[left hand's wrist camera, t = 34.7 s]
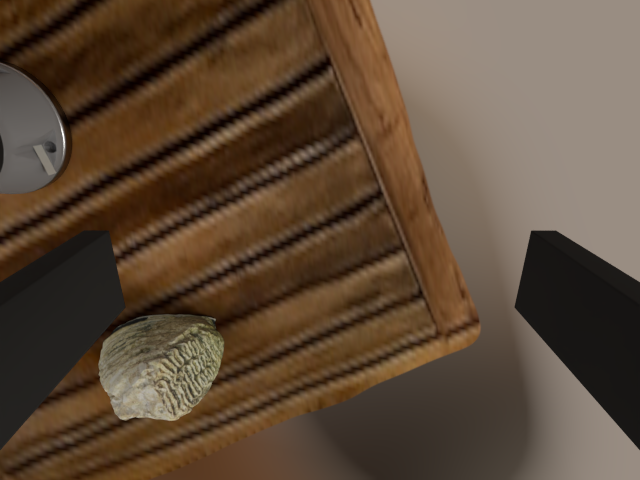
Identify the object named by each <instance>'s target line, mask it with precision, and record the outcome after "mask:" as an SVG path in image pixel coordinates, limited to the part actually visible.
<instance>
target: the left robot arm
mask: <svg viewBox="0 0 640 480" xmlns="http://www.w3.org/2000/svg"><path fill="white" fill-rule="evenodd" d="M71 151H72V137H71V131H70V127H69V123H68V120H67V118H66V115H65V113H64V111H63V109H62V107H61V106H60V104H59V102H58V101H57V99H56V98H55V97H54V95H53V94H52V93H51V92H50V91H49V89H48V88H47V87H46V86H45V85H44V84H43V83H41V82H40V81H39V80H38V79H37V78H35V77H34V76H33V75H31V74H30V73H28V72H27V71H25V70H23V69H21V68H19V67H17V66H15V65H12V64H9V63H6V62H2V61H0V193H4V194H20V193H28V192H32V191H35V190H38V189H41V188H43V187H46V186H48V185H50V184H52V183H53V182H54V181H56V180H57V179H58V178H59V177H60V176H61V175H62V174H63V172H64V171H65V169H66V167H67V165H68V163H69V160H70V156H71ZM124 308H125V303H124V299H123V294H122V289H121V285H120V280H119V276H118V271H117V266H116V262H115V257H114V253H113V248H112V243H111V239H110V234H109V231H83V232H81V233H79V234H78V235H76V236H75V237H73V238H71V239H70V240H68V241H66V242H65V243H63V244H62V245H60V246H58V247H57V248H55V249H54V250H52V251H50V252H49V253H47V254H45V255H44V256H42V257H41V258H39V259H37V260H36V261H34V262H32V263H31V264H29V265H28V266H26V267H24V268H23V269H21V270H19V271H18V272H16V273H15V274H13V275H11V276H10V277H8V278H6V279H5V280H3V281H2V282H0V450H1V449H2V447H3V446H4V445H5V444H6V443H7V442H8V441H9V439H10V438H11V437H12V436H13V435H14V434H15V433H16V431H17V430H18V429H19V428H20V427H21V426H22V425H23V423H24V422H25V421H26V420H27V419H28V418H29V417H30V416H31V414H32V413H33V412H34V411H35V410H36V409H37V408H38V406H39V405H40V404H41V403H42V402H43V401H44V400H45V398H46V397H47V396H48V395H49V394H50V393H51V392H52V390H53V389H54V388H55V387H56V386H57V385H58V384H59V382H60V381H61V380H62V379H63V378H64V377H65V376H66V374H67V373H68V372H69V371H70V370H71V369H72V368H73V366H74V365H75V364H76V363H77V362H78V361H79V360H80V359H81V357H82V356H83V355H84V354H85V353H86V352H87V351H88V349H89V348H90V347H91V346H92V345H93V344H94V343H95V341H96V340H97V339H98V338H99V337H100V336H101V335H102V333H103V332H104V331H105V330H106V329H107V328H108V327H109V325H110V324H111V323H112V322H113V321H114V320H115V319H116V317H117V316H118V315H119V314H120V313H121V312H122V311H123V309H124ZM515 308H516V309H517V311H518V312H519V313H520V314H521V315H522V316H523V317H524V319H525V320H526V321H527V322H528V323H529V324H530V325H531V327H532V328H533V329H534V330H535V331H536V332H537V333H538V335H539V336H540V337H541V338H542V339H543V340H544V341H545V343H546V344H547V345H548V346H549V347H550V348H551V349H552V351H553V352H554V353H555V354H556V355H557V356H558V357H559V359H560V360H561V361H562V362H563V363H564V364H565V365H566V366H567V368H568V369H569V370H570V371H571V372H572V373H573V374H574V376H575V377H576V378H577V379H578V380H579V381H580V382H581V384H582V385H583V386H584V387H585V388H586V389H587V390H588V392H589V393H590V394H591V395H592V396H593V397H594V398H595V400H596V401H597V402H598V403H599V404H600V405H601V406H602V407H603V409H604V410H605V411H606V412H607V413H608V414H609V415H610V417H611V418H612V419H613V420H614V421H615V422H616V423H617V425H618V426H619V427H620V428H621V429H622V430H623V431H624V433H625V434H626V435H627V436H628V437H629V438H630V439H631V441H632V442H633V443H634V444H635V445H636V446H637V447H638V449H639V450H640V282H638V281H637V280H635V279H634V278H632V277H630V276H629V275H627V274H625V273H624V272H622V271H621V270H619V269H617V268H616V267H614V266H612V265H611V264H609V263H608V262H606V261H604V260H603V259H601V258H599V257H598V256H596V255H595V254H593V253H591V252H590V251H588V250H586V249H585V248H583V247H582V246H580V245H578V244H577V243H575V242H573V241H572V240H570V239H569V238H567V237H565V236H564V235H562V234H560V233H559V232H557V231H531V234H530V239H529V243H528V248H527V253H526V257H525V262H524V266H523V271H522V276H521V280H520V285H519V289H518V294H517V299H516V303H515Z"/></svg>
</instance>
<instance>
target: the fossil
mask: <svg viewBox="0 0 640 480" xmlns="http://www.w3.org/2000/svg"><path fill="white" fill-rule="evenodd" d="M215 320H216V319H214V318H211V317H207V316H195V315H182V314H179V315H170V314H163V315H150V316H143V317H139V318H136V319H134V320H131V321H128V322H127V323H126V324H123V325H120V326H118V327H117V328H116V329H115V330H114V331H113V332H112V334H111V335H110V336H109V337H108V338H107V339H105V340H104V342H103V349H102V350H101V356H100V360H99V369H100V372H99V375H100V381H101V384H102V385H103V388H104V390H105V391H106V392H107V393H108V395H109V396H110V400H111V404H112V407H113V409H114V412H115V414H116V415H117V416H118V417H119V418H120V419H123V420H128V419H130V418H133V417H138V418H145V417H149V418H154V419H164V420H170V421H173V420H177V419H179V418H180V417H181V416H183V415H185V414H187V413H189V412H191V411H192V408H193V407H194V406H195V405H196V404H198V403H199V402H200V400H201V399H202V398H203V397H204V396H205V395H206V393H207V392H208V390H209V389H210V387H211V384H212V381H213V380H214V379H215V377H216V375H217V373H218V370H219V367H220V364H221V359H222V356H223V349H224V340H223V337H222V336H221V334H220V333H219V332H218V331H217V330H216V326H215Z"/></svg>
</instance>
